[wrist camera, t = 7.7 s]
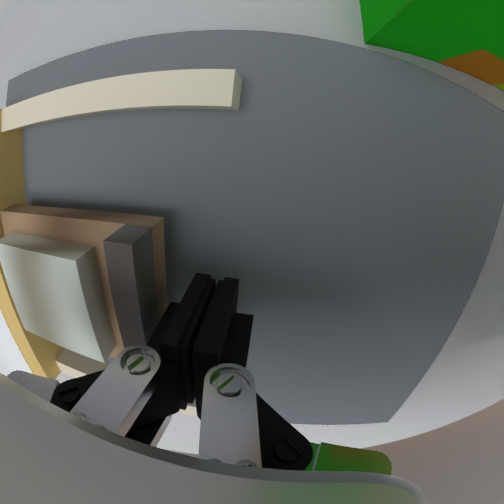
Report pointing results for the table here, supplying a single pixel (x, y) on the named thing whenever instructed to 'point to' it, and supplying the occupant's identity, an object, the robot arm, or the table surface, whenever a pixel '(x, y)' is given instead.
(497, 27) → the puzzle toy
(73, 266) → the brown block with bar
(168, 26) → the table surface
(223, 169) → the mat
